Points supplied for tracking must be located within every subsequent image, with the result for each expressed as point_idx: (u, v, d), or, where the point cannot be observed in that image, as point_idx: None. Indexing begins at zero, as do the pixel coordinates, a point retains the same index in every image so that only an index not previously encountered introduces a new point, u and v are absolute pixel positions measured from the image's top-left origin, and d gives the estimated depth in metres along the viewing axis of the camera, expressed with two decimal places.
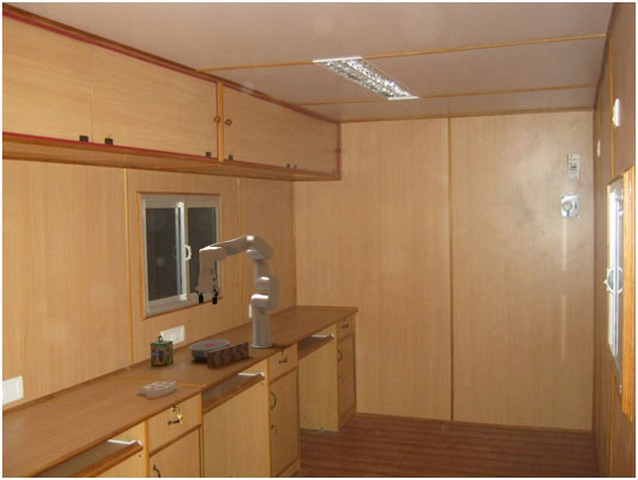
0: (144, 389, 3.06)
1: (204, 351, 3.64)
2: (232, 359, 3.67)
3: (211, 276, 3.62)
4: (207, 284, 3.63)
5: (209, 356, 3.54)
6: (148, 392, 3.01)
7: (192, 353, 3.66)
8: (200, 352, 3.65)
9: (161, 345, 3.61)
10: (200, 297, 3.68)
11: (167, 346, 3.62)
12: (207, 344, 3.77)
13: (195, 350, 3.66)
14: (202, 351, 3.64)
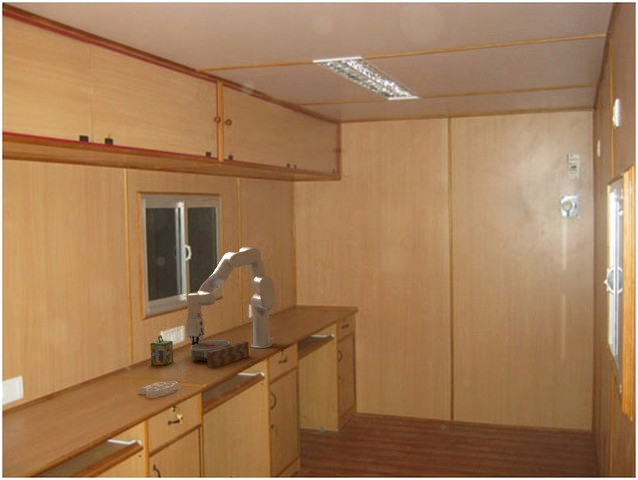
0: (144, 389, 3.06)
1: (204, 351, 3.63)
2: (232, 359, 3.67)
3: (198, 320, 3.78)
4: (194, 328, 3.79)
5: (209, 356, 3.54)
6: (147, 392, 3.01)
7: (192, 353, 3.66)
8: (200, 352, 3.64)
9: (161, 345, 3.61)
10: None
11: (167, 346, 3.62)
12: (208, 344, 3.77)
13: (195, 350, 3.65)
14: (202, 351, 3.64)
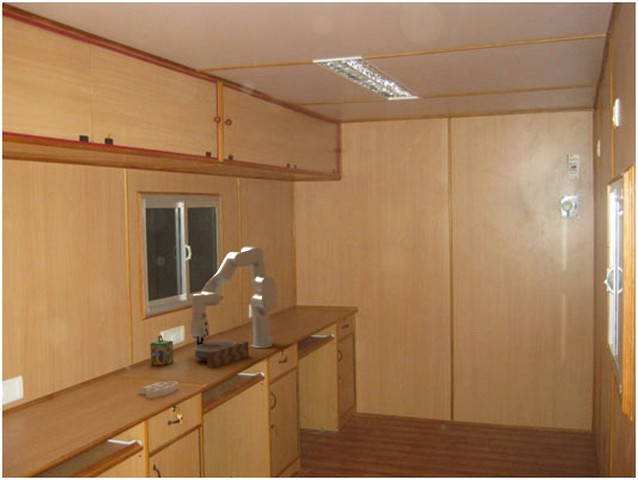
0: (144, 389, 3.06)
1: None
2: (232, 359, 3.67)
3: (203, 320, 3.76)
4: (199, 328, 3.77)
5: (209, 356, 3.54)
6: (147, 392, 3.01)
7: (196, 353, 3.65)
8: (203, 353, 3.63)
9: (161, 345, 3.61)
10: None
11: (167, 346, 3.62)
12: (212, 345, 3.75)
13: (199, 350, 3.64)
14: (205, 352, 3.62)
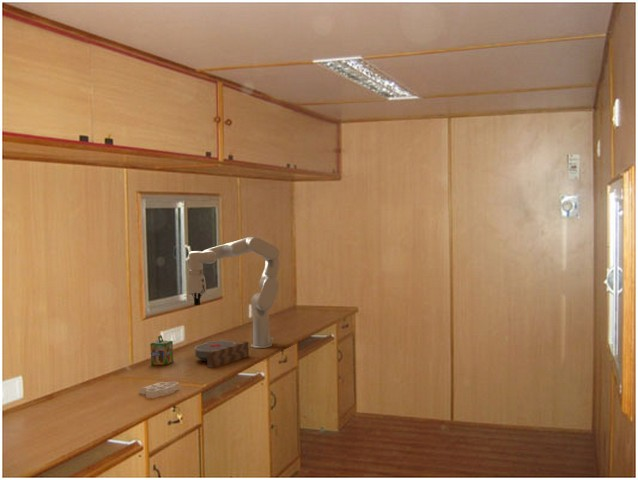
0: (144, 389, 3.06)
1: None
2: (232, 359, 3.67)
3: (200, 277, 3.87)
4: (196, 284, 3.87)
5: (209, 356, 3.54)
6: (147, 392, 3.01)
7: (196, 354, 3.65)
8: (203, 353, 3.63)
9: (161, 345, 3.61)
10: None
11: (167, 346, 3.62)
12: (212, 345, 3.75)
13: (199, 351, 3.64)
14: (205, 352, 3.62)
